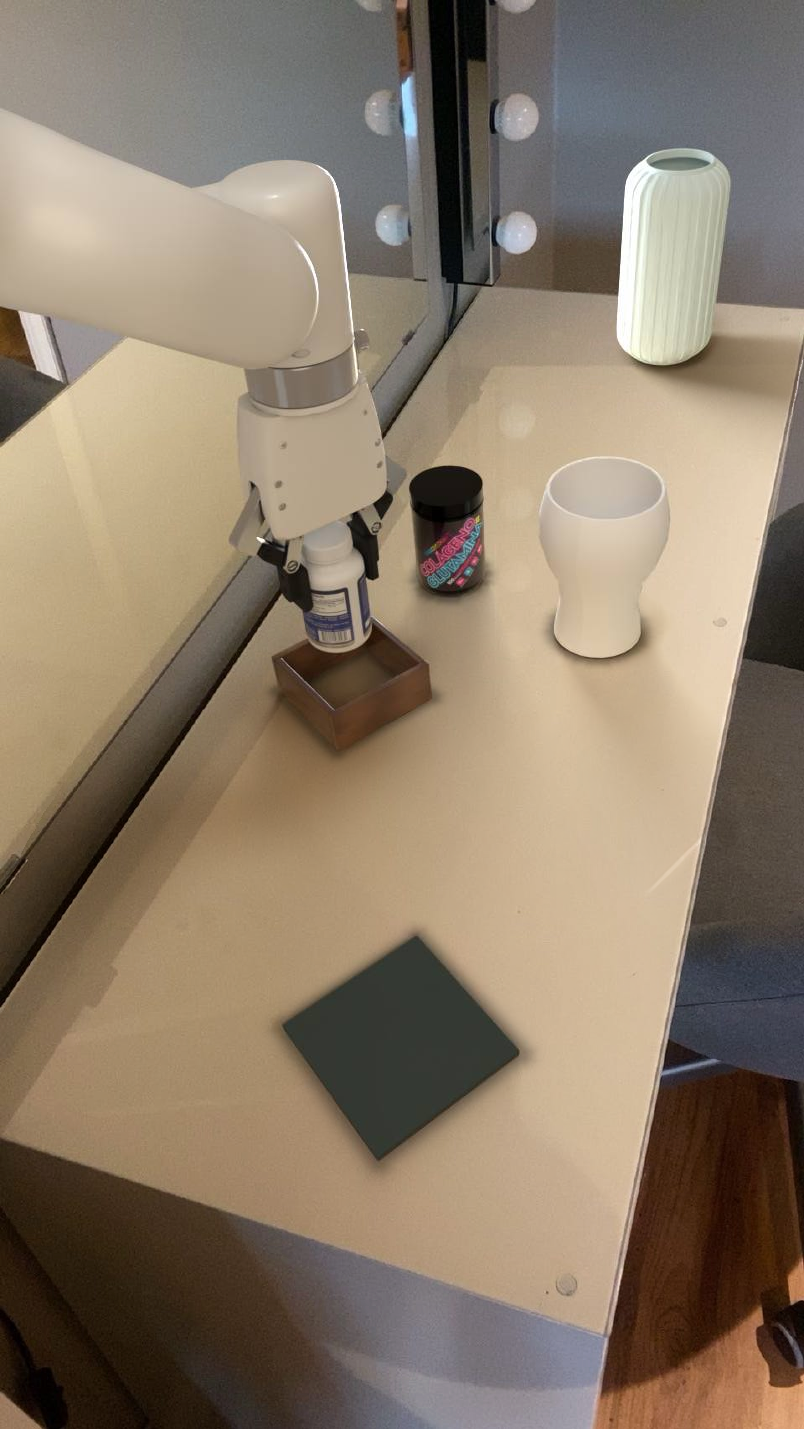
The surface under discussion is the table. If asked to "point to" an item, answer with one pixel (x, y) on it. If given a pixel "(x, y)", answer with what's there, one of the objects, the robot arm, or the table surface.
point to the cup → (602, 549)
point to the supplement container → (448, 529)
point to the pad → (399, 1045)
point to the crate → (367, 708)
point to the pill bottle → (335, 590)
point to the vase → (671, 254)
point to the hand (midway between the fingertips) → (332, 585)
